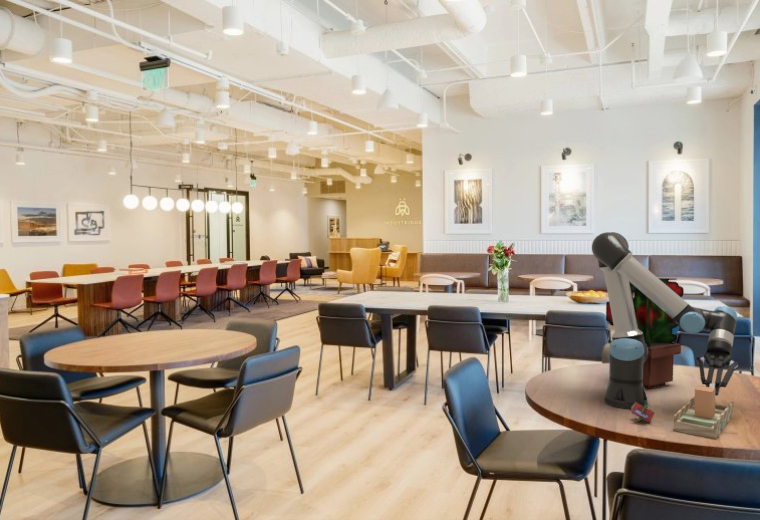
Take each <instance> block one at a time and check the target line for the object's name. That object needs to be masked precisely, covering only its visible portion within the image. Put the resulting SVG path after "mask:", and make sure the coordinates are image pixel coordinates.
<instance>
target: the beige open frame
mask: <svg viewBox="0 0 760 520" xmlns="http://www.w3.org/2000/svg"><path fill="white" fill-rule="evenodd" d="M694 414H695V395H694V396H693V397H691V399H690V400H689V401H688V402H687V403H686V404H684V405H683V406H682V407H681V408H680V409H679V410H678V411H677V412H676V413H674V414H673V429H672V430H673V431H674V432H678V433H684V434H687V435H694V436H699V437H702V438H703V437H704V438H708V439H713V440H717V438H718V436H719V435H720V434H721V433H722V432H723V430H724V428H726V426H727V425H728V423H729V422H730V421H731V420H732V418H733V417H734V401H730V403H729V404H728V405H727V406H726V405H720V404H715V415H714V416H713V418H712V419H709V418H704V417H699V416H694Z"/></svg>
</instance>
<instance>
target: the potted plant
mask: <svg viewBox="0 0 760 520" xmlns="http://www.w3.org/2000/svg"><path fill="white" fill-rule="evenodd" d="M657 278H658V279H660V280H661V281H662V282H663V283H664V284H665V285H667V286H668V287H669V288H670V289H671V290H673V291H674V292H675V293H676V294H677V295H678V296H680V297H681V298H682V297H683V296H684V292H685V291H684V287H682V286H680V285H679V283H678V282H677V281H676V280H677V278H674V277H673V278H671V277H669V278H667V277H666V278H665V277H662V278H661V277H657ZM671 280H673V281H671ZM629 283H630V288H631V294H632V299H633V304H634V310H635V315H636V320H637V326H638V329H639V330H641V331H642V332H643V335H644V340H645V344H646V346H647V348H648V357H647V360H646V361H645V363H644V364H643V386H644V389H645V390H646V389H647V390H650V389H654V388H659V387H663V386H664V387H665V386H666V383H670V382H673V381H674V356H675V355H680V354H682V345H681V343H677V342H676V343H675V341H677V339H678V336H677V335H676V334H674V333H673V329H676V328H677V327H678V325H679V324H677V323H676V322H675V320H674V319H673V318H671V317H670V316H669V315H668V314H667V313H666V312H664V311H663V310H662V309H661V308H660V307H659V306H657V305H656V304H655V303H654V302H653V301H652V300H650V299H649V298H648V297H647V296H646V295H645V294H643V293H642V292H641V291H640V290H639V289H638V288H636V287H635V286H634V285H633V284H632V283H631V282H629ZM633 293H634V297H633ZM605 321H607V322H609V324H610V326H613V327H614V324H613V319H612V313H611V308H610V302H609V301H607V302H606V304H605ZM611 342H612V340H610V341H609V345H610V344H611Z"/></svg>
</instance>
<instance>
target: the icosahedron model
mask: <svg viewBox="0 0 760 520" xmlns="http://www.w3.org/2000/svg"><path fill="white" fill-rule="evenodd" d="M640 403H641V402H640ZM648 406H649V407H651V405H650V403H649V402H648V404H646V405H644V406H642V405H640V404H638V403H637V402H636V403H635V404H634V405H633V406H632V409H630V410H631V411H630V412H631V414H632V415H634V416H635V417H634V419H635V422H636V423H639V424H640V423H642V422H643V421H644V422H646V423H647V424H651V422H652V421H653V420H652V419H653V417H654V416H655V411H653V409H650V408H649V407H648ZM637 418H638V420H637ZM641 421H642V422H641Z"/></svg>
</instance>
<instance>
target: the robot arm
mask: <svg viewBox="0 0 760 520" xmlns="http://www.w3.org/2000/svg"><path fill="white" fill-rule="evenodd" d="M591 252H592V255H593V256H594V257H595V258H596V260H597V264H598V265H597V266H598V268H599V270H601V271H602V272H603V274H604V280H605V284H606V285H605V286H606V291H607V297H608V302H610V308H611V313H612V319H613V324H614V326H613V330H614V332H613V333H612V335H611V339H612V340H611V341H612V342H611V344H610V343H609V348H608V349H609V350H608V351H609V367H608V368H609V370H608V371H609V378H608V380H609V381H608V383H607V387H606V389H605V391H604V394H603V402H604V403H605V404H607V405H609V406H611V407H614V408H621V409H629V410H631V409H632V406H633V405H634V404H635V403H636V402H637V403H638V404H640V405H642V406H644V405H646V404H648V403H649V401H648V396H647V393H646V389H645V388H644V386H643V364H644V363H645V361H646V360H647V357H648V348H647V346H646V344H645V340H644V335H643V332H642V331H641V330H639V329H638V326H637V320H636V315H635V310H634V304H633V299H632V294H631V288H630V283H629V282H631V283H632V284H633V285H634V286H635V287H636V288H638V289H639V290H640V291H641V292H642V293H643V294H645V295H646V296H647V297H648V298H649V299H650V300H652V301H653V302H654V303H655V304H656V305H657V306H659V307H660V308H661V309H662V310H663V311H664V312H666V313H667V314H668V315H669V316H670V317H671V318H673V319H674V320H675V322H676V323H677V324H678V325H679V326H680V328H681V330H683V331H684V332H685V333H688V334H692V335H693V334H697V333H700V332H701V331H703V330H704V331H708V332H709V336H708V340H707V341H708V343H707V346H706V351H705V352H706V353H704V355H703V356H702V357H700V356H698V357H696V362H697V364H698V366H699V373H700V374H699V376H700V381H701V384H702V385H705V387H710V388H715V397H717V396H719V393H720V388H727V386H728V384H729V382H730V380H731V378H732V376H733V373H734V372H735V371H736V370H737V369H738V368H739V362H738V361H734V360H733V359H732V351H733V346H734V345H733V344H734V339H735V332H736V327H737V320H738V319H737V317H738V315H737V312H736V310H735V309H733V308H732V307H730V306H725V305H724V306H722V305H721V306H717V307H715V309H714V310H710V309H709V310H708V309H704V308H699V307H695V306H691V305H690V304H689V303H688V302H686V301H685V299H683V298H682V297H680V296H678V295H677V294H676V293H675V292H674V291H673V290H671V289H670V288H669V287H668V286H667V285H665V284H664V283H663V282H662V281H661V280H660V279H658V278H659V277H657V276H656V274H654V273H653V272H651V271H650V270H649V269H648V268H647V267H645V266H644V265H643V264H642V263H641V262H640V261H639V260H637V259H636V258H635V257H634V256H633V252H632V251H631V250H630V249H629V243H628V241H627V239H626V238H625V237H624V236H623V235H622V234H621V233H619V232H614V231H612V232H602V233H600V234H598V235H597V236H595V238H594V239H593V241H592V243H591ZM705 362H706V363H707V365H708V372H707V377H706V374H705V368H704V367H705V366H704V364H705ZM727 366H728V368H727V370H726V372H725V374H724V376H723V372H724V369H725V368H726V367H727ZM715 369H716V376H715V381H714V382H715V383H713V378H714V375H715V374H714V372H715ZM722 377H723V378H722ZM640 402H641V403H640ZM648 405H649V404H648Z"/></svg>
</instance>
